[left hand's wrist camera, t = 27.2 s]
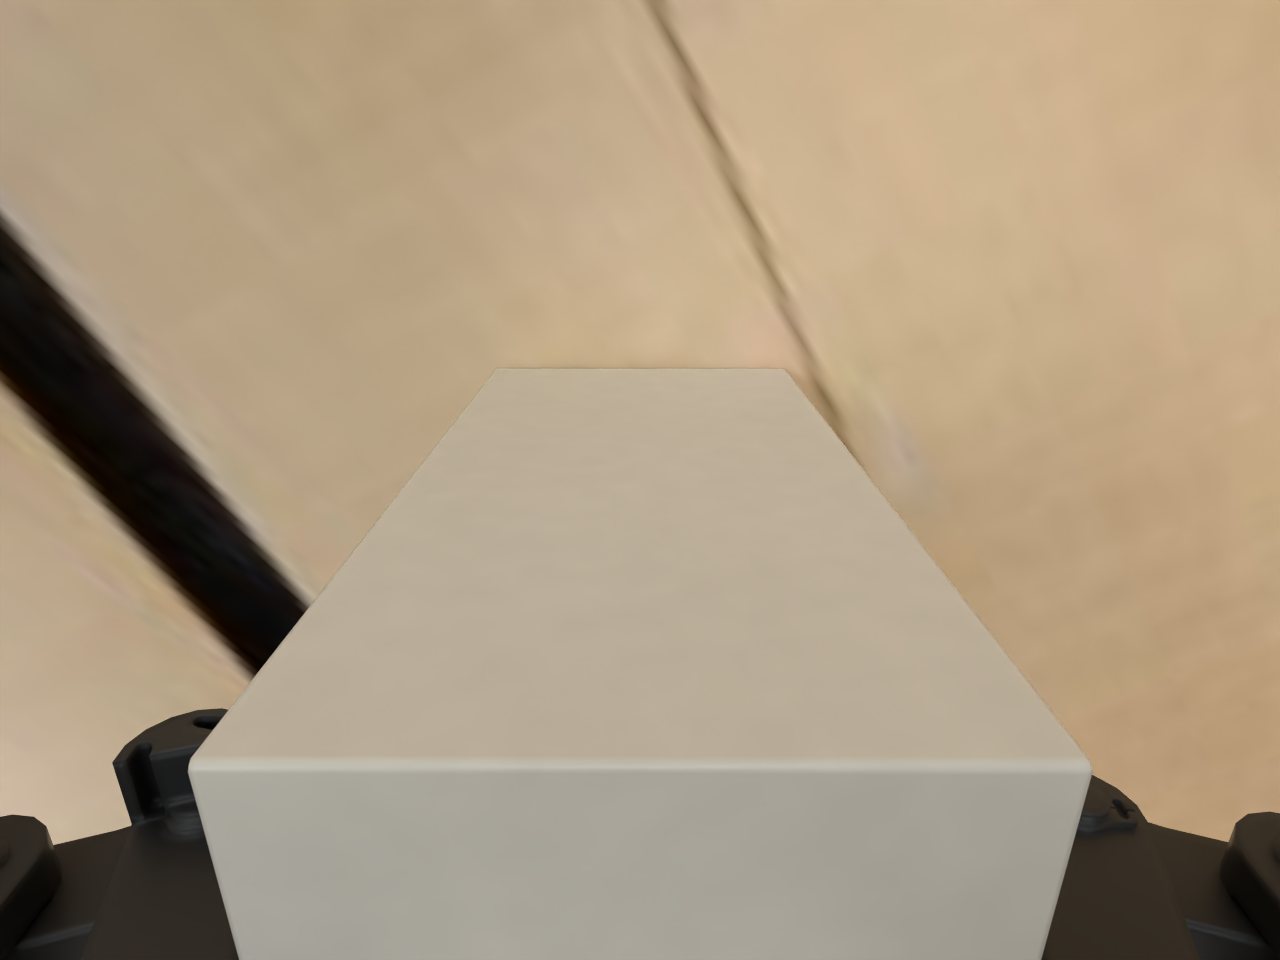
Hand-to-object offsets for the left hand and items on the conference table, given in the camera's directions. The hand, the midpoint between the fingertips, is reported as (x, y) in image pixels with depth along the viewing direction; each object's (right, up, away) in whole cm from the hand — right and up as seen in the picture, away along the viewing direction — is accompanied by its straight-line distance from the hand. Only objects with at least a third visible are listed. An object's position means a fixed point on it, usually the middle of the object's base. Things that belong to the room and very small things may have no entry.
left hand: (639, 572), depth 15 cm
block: (0, +1, +3) cm, 3 cm away
